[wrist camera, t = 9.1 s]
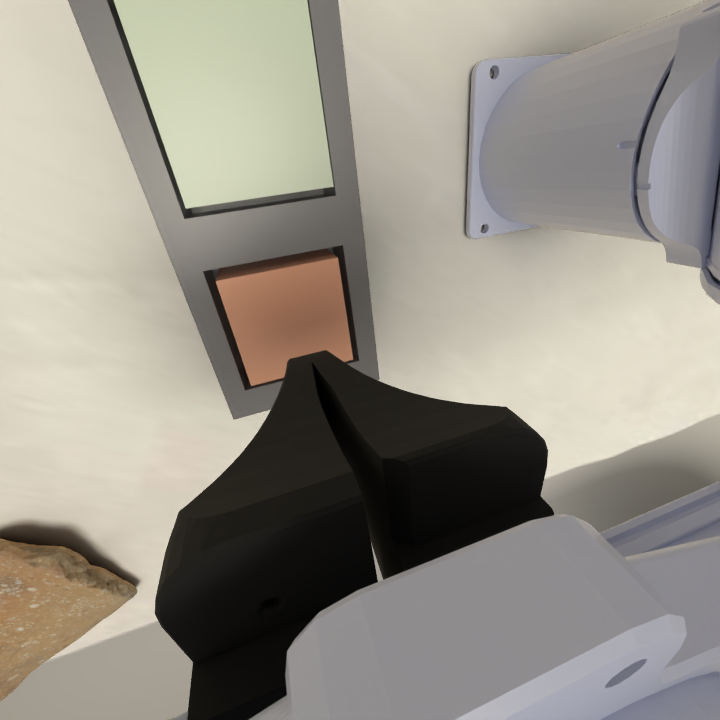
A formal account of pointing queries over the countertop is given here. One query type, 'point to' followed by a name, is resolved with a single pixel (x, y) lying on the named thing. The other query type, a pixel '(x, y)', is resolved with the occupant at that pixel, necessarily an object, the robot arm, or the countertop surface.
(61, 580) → the stone
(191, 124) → the cap sage
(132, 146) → the button panel
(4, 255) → the countertop surface
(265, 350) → the cap terracotta
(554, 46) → the countertop surface
